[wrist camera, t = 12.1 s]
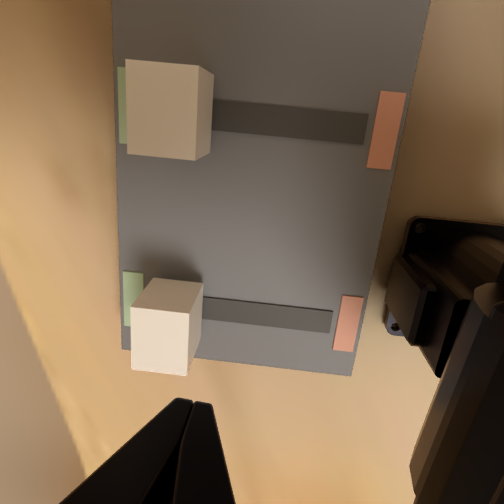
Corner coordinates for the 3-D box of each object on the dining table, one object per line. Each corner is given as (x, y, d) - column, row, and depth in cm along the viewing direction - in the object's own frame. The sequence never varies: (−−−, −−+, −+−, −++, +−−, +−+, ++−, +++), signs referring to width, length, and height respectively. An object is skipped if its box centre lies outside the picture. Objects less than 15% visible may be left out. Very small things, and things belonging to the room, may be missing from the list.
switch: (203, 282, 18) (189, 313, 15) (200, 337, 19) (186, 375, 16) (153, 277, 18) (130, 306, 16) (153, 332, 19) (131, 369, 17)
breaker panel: (468, -263, 13) (500, -329, 11) (345, 353, 22) (351, 377, 20) (126, -283, 14) (99, -349, 12) (135, 329, 22) (121, 350, 20)
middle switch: (214, 74, 15) (198, 65, 12) (210, 153, 16) (195, 160, 13) (153, 69, 15) (125, 58, 12) (153, 147, 16) (127, 154, 14)
